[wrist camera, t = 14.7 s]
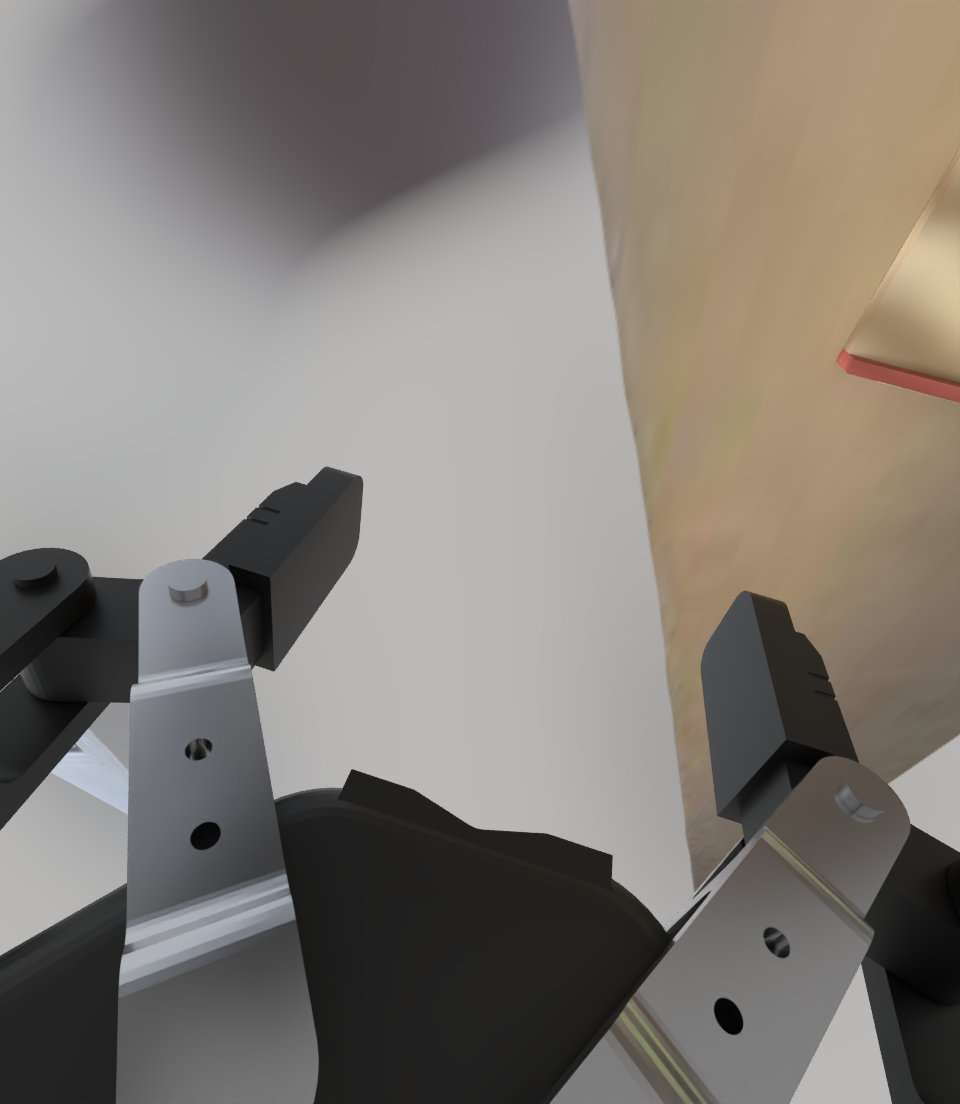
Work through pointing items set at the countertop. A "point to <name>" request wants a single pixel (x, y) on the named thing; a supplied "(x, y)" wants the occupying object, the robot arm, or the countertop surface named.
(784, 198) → the countertop surface
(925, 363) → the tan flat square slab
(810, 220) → the countertop surface
